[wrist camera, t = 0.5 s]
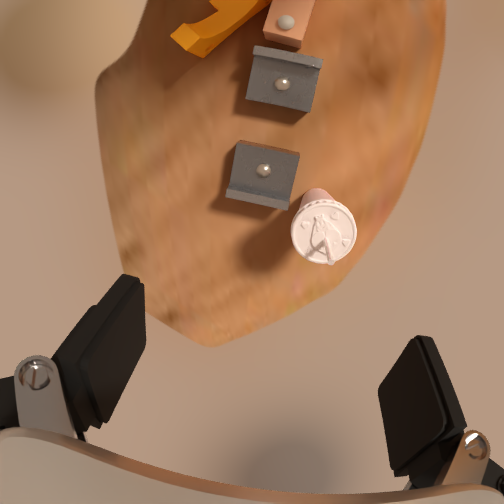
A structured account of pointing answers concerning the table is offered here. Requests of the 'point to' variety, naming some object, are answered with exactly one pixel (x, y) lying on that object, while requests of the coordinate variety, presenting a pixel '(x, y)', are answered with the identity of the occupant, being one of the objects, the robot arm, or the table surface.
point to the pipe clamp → (217, 25)
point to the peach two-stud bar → (288, 21)
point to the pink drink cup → (322, 228)
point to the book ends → (267, 157)
